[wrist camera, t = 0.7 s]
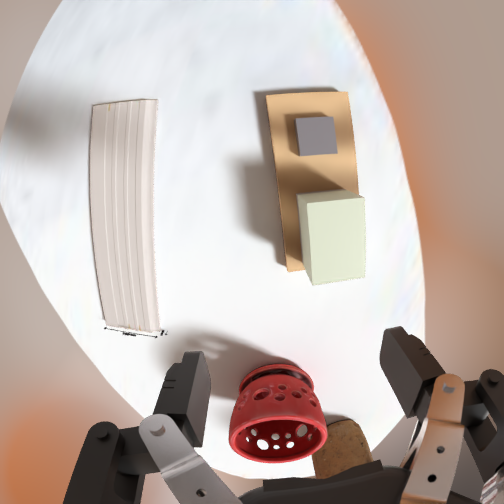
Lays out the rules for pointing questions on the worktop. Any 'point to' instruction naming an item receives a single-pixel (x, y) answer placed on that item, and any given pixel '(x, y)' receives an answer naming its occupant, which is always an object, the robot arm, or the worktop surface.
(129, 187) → the baseboard
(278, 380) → the plant pot
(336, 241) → the block
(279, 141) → the oak board
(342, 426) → the block
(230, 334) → the worktop surface
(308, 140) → the gray square tile
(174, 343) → the worktop surface
